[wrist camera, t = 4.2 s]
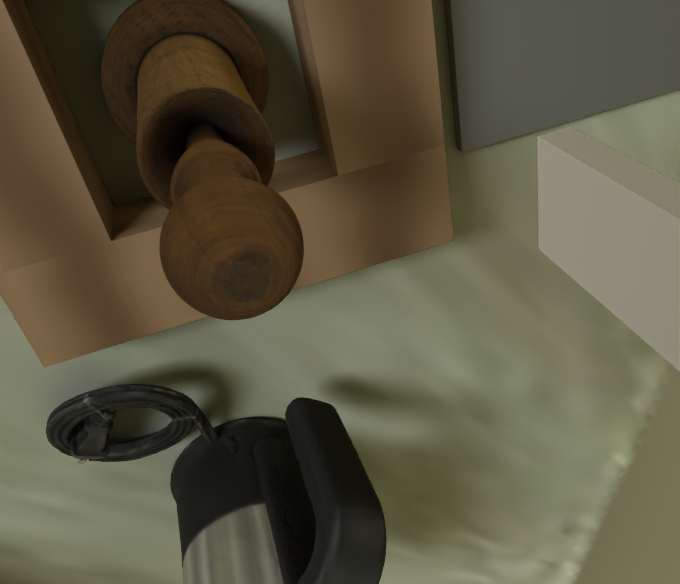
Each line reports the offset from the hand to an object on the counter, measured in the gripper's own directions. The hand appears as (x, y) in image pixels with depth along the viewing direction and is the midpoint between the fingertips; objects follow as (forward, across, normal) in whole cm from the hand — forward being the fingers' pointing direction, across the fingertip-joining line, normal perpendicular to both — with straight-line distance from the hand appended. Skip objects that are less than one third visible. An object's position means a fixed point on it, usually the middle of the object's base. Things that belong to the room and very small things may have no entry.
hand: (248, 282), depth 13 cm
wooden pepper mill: (+18, 0, 0) cm, 18 cm away
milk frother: (+18, -6, -20) cm, 28 cm away
